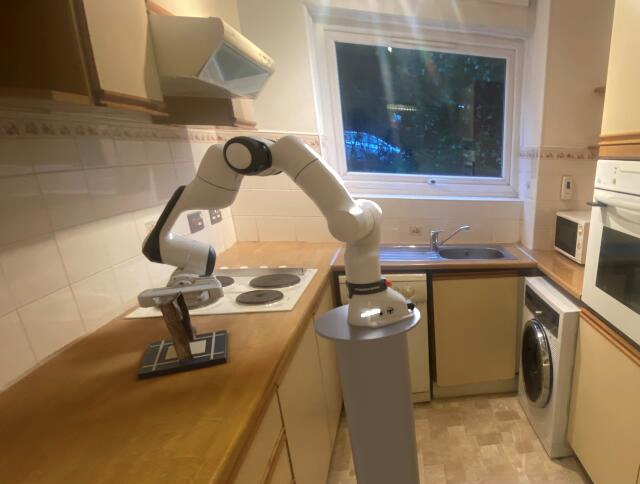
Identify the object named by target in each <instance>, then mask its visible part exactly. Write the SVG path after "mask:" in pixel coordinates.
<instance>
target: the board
mask: <svg viewBox="0 0 640 484" xmlns="http://www.w3.org/2000/svg"><path fill="white" fill-rule="evenodd" d="M228 336H229V335H228V331H227V329H224V330H217V331H211V332H206V333H200V334H195V337H196V338H195V339H193V340H189V344H190V349H191V353H192V356H193V358H194V360H190V361H179V360H178V359H177V354H176V351H175V348H174V344H173V342H172V341H171V338H170V339H163V340H158V341H152V342H150V343H149V345H148V347H147V350H146V352H145V355H144V357H143V360H142V362H141V364H140V368H139V370H138V372H137V378H138V379H139V380H145V379H151V378H155V377H160V376H165V375H171V374H175V373H180V372H185V371H191V370H196V369H200V368H201V369H202V368H206V367H210V366H211V367H212V366H216V365H220V364H226V363H227V362H228Z"/></svg>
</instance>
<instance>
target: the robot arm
mask: <svg viewBox="0 0 640 484" xmlns="http://www.w3.org/2000/svg"><path fill="white" fill-rule="evenodd" d="M282 173H284V174H285V175H286V176H287V177H288V178H289V179H290V180H291V181H292V182H293V183H294V184H295V185H296V186H297V187H298V188H299V189H300V190H301V191H302V192H303V193H305V195H306V196H307V197H308V198H309V199H310V200H311V201H312V203H314V204H315V206H316V207H317V209H318V210H319V211H320V213H321V215H322V216H323V218H324V219H325V221H326V223H327V229H328V231H329V234H330V235H331V236H332V237H333V238H334V239H335V240H337V241H339V242H342V243H345V250H344V254H343V265H344V271H345V291H346V296H347V298H348V304H349V308H348V317H347V322H348V323H349V324H351V325H355V326H365V327H370V328H378V327H382V326H385V325H389V324H393V323H396V322H400V321H403V320H407V319H411V318H414V316H415V312H414V308H416V305H415V304H414V303H413V302H412V300H411V299H406V298H405V297H404V296H403V294H402V293H400V292H398V291H396V290H394V289H393V288H391V287H392V286H393V282H392V281H391V279H388V278H387V277H384V276H382V270H381V269H382V268H381V267H382V266H381V259H380V249H381V246H380V245H381V231H382V230H381V229H382V227H381V226H382V221H383V211H382V209H381V207H380V206H379V205H378V204H377V203H375V202H374V201H372V200H368V199H357V200H354V199H353V197H352V196H351V194H350V192H349V191H348V190H347V188H346V187H345V185H344V184H345V183H344V180H343V179H342V177H341V176H340V175H339V174H338V173H337V172H336V171H335V170H334V169H333V168H332V167H331V166H330V165H329V164H328V163H327V162H326V161H325V159H324V158H323V157H322V156H320V155H319V153H317V151H315V150H314V149H313V148H312V147H311V146H310V145H308V144H307V143H306V142H305V141H303V140H302V139H300V138H299V137H297V136H295V135H292V134H291V135H284V136H282V137H280V138H278V139H277V140H276V141H275V140H273V139H270V138H264V137H260V136H251V135H250V136H247V135H237V136H234V137H231V138H229V139H228V140H227V141H226V142H225V143H214V144H212V145H210V146H209V147H208V148H207V150H206V151H205V153H204V155H203V156H202V159H201V160H200V163H199V166H198V167H197V171H196V174H195V177H194V179H193V180H192V181H190V182H189V183H188V184H187V185H180V186H178V187H177V188H176V189H175V191H174V192H173V194H172V195H171V197H170V198H169V200H168V201H167V203H166V205H165V206H164V208H163V210H162V211H161V213H160V214H159V215H160V216H159V217H158V218H157V221H156V223H155V225H154V227H153V228H152V230H151V231H149V232H148V233H147V235H146V236H145V237H144V239H143V241H142V245H141V253H142V254H143V256H144V257H145V258H146V259H147V260H148V261H149V262H150V263H155V264H160V265H167V266H171V267H174V270H173V271H172V273H171V275H170V277H169V279H168V281H167V283H166V286H163V287H162V286H161V287H154V288H148V289H144V290H143V291H141V292H140V293H139V294H138V295H137V297H136V299H137V302H138V305H139V307H140V308H143V309H148V308H154V307H155V308H157V309H161V308H160V304H161V303H162V302H163V301H165V300H166V299H170V298H173V295H175V294H176V293H178V292H180V291H181V292H182V294H183V296H184V299H185V302H186V304H192V303H194V302H197V303H198V304H199V303H205V301H207V300H214V299H215V300H216V299H222V298H224V297H225V294H224V290H223V285H222V283H221V281H220V280H219V279H218V278H217V276H216V275H214V274H213V273H214V270H215V267H216V262H217V261H216V260H217V253H216V250H215V249H214V247H213V246H212V245H211V244H208V243H206V242H202V241H199V240H195V239H190V238H188V237H184V236H180V235H177V234H174V233H173V232H172V230H173V228H174V226H175V225H176V223H177V221H178V219H179V218H180V216H181V215H182V214H183V213H185V212H188V211H218V210H223V209H227V208H229V207H230V206H232V205H233V204H234V202H235V201H236V199H237V196H238V194H239V191H240V189H241V185H242V183H243V179H244V178H245V177H263V178H264V177H269V176H270V177H271V176H277V175H280V174H282Z"/></svg>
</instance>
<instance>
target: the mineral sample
mask: <svg viewBox="0 0 640 484" xmlns="http://www.w3.org/2000/svg"><path fill="white" fill-rule="evenodd" d="M187 304H188V303H187ZM187 304H186V302H185V299H184V296H183V294H182V292H181V291H180V292H178V293H176V294H175V295H173V298H170V299H166V300H165V301H163V302H162V303H161V304H160V308H159V309H160V312H161V315H162V317H163V320H164V324H165V325H166V329H167V332H168V333H169V335H170V339H171V341H172V342H173V344H174V348H175V351H176V354H177V359H178V360H179V361H190V360H194V358H193V356H192V353H191V349H190V344H189V340H193V339H195V338H196V337H195V335H196V334H197V329H196V326H194V325H193V323H192V321H191V315H190V311H189V306H188V305H187Z"/></svg>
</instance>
